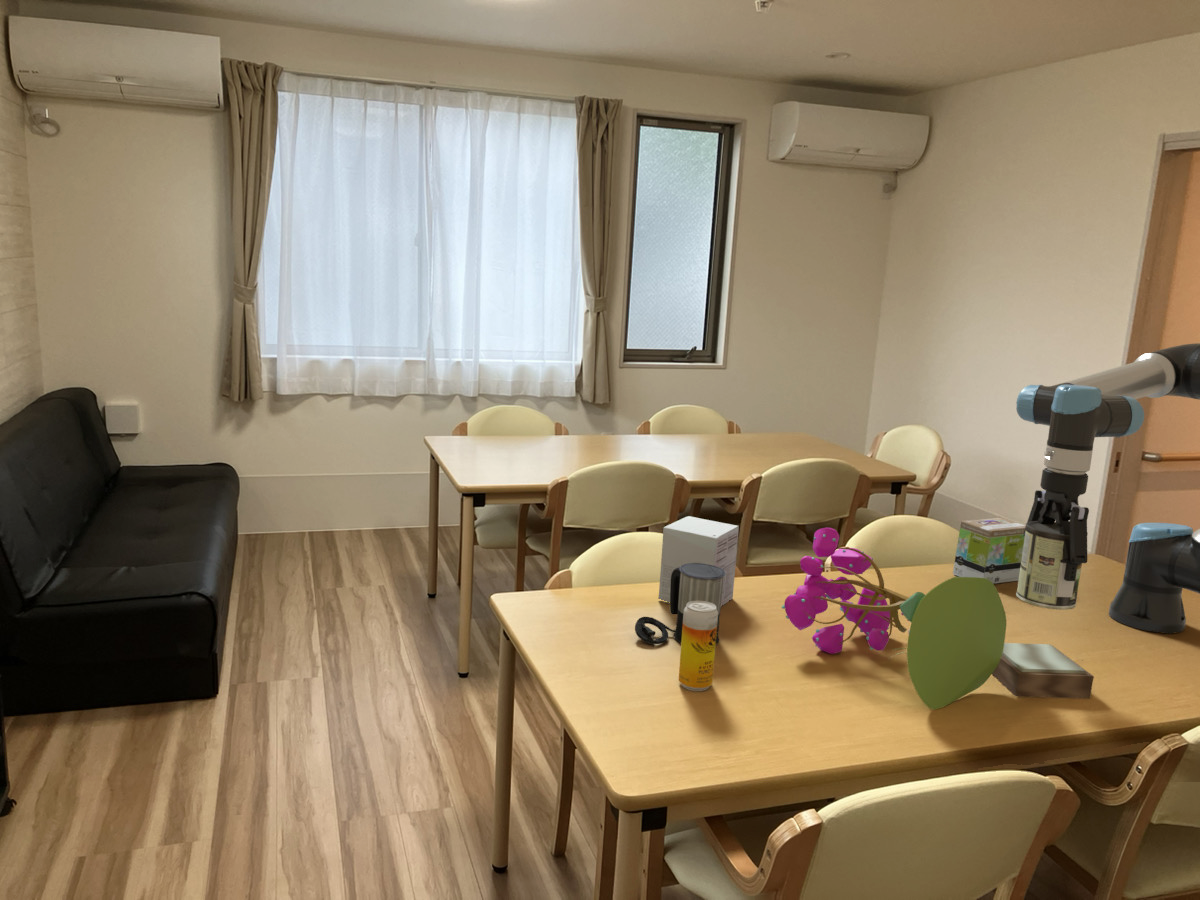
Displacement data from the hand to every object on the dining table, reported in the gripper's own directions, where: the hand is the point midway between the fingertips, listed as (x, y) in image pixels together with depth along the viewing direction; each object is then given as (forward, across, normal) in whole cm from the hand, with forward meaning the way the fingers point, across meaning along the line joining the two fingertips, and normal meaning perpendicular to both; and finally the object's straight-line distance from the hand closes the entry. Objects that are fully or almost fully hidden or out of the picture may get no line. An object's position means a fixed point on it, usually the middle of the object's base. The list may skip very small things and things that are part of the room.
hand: (1047, 586), depth 169 cm
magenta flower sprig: (+19, -7, -28) cm, 34 cm away
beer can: (+19, +6, -66) cm, 69 cm away
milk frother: (+19, -15, -66) cm, 71 cm away
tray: (+19, 0, 0) cm, 19 cm away
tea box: (+19, -62, +21) cm, 68 cm away
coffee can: (+3, 0, 0) cm, 3 cm away
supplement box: (+19, -38, -59) cm, 73 cm away
